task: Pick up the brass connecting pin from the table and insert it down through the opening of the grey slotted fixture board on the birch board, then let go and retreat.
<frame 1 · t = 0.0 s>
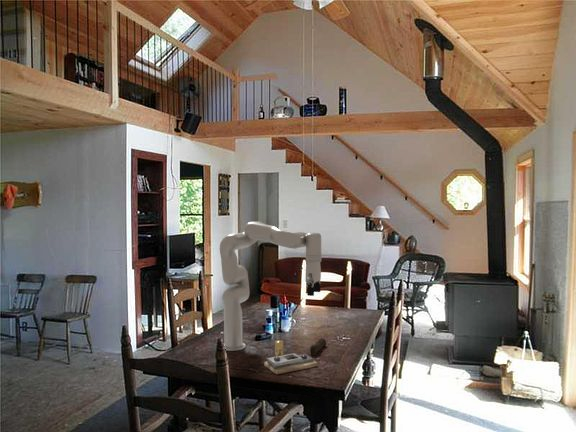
hand: (314, 293, 206), 31 cm above the table, tool pointing down, fingers open, 9 cm apart
birch board: (290, 365, 197), on the table
grey slotted fixture board: (290, 358, 196), on the birch board, point 3 cm above the table
brass pin: (279, 357, 207), on the table
hand tool: (318, 351, 217), on the table
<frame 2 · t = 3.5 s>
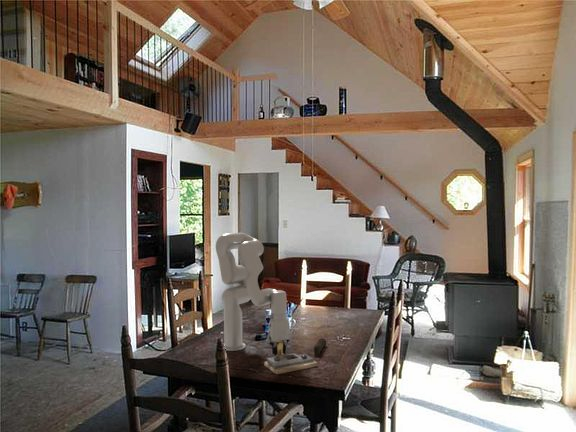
hand: (279, 353, 207), 2 cm above the table, tool pointing down, fingers closed on brass pin, 4 cm apart
brass pin: (279, 357, 207), on the table, touching gripper
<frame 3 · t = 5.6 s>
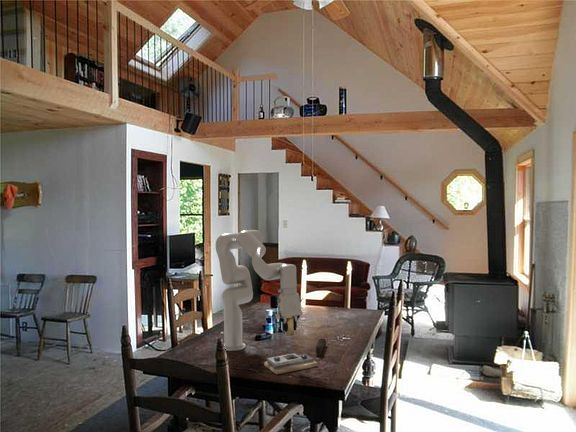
hand: (289, 330, 197), 16 cm above the table, tool pointing down, fingers closed on brass pin, 4 cm apart
brass pin: (289, 334, 197), point 14 cm above the table, touching gripper
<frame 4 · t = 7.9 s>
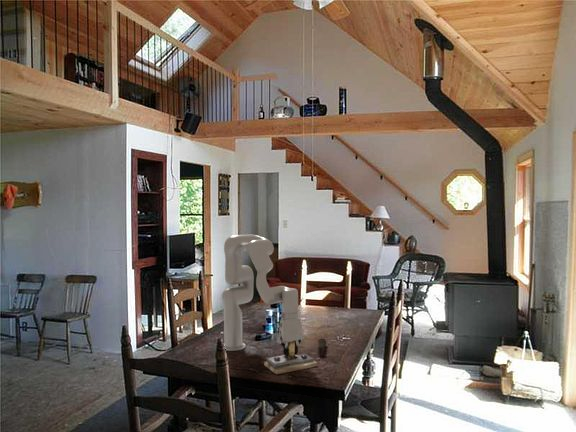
hand: (290, 354, 196), 5 cm above the table, tool pointing down, fingers closed on brass pin, 4 cm apart
brass pin: (290, 359, 196), point 3 cm above the table, touching gripper
when the fingers open (5 cm above the table, at t = 8.2 s): brass pin stays where it is, resting on birch board.
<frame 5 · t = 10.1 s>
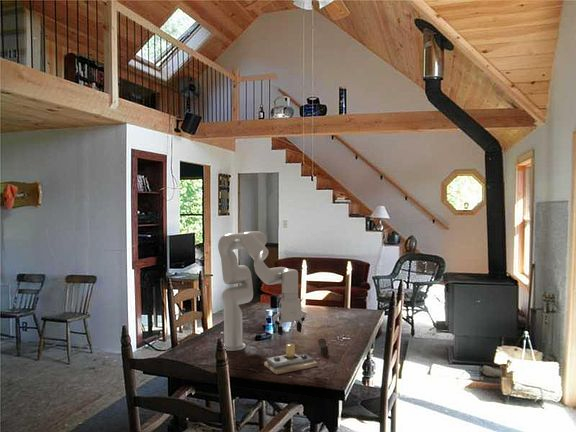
hand: (289, 333, 197), 15 cm above the table, tool pointing down, fingers open, 9 cm apart
brass pin: (290, 362, 197), point 2 cm above the table, touching birch board
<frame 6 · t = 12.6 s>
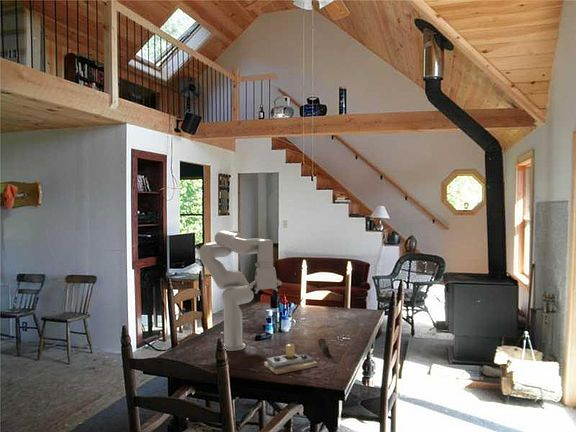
hand: (265, 300, 206), 28 cm above the table, tool pointing down, fingers open, 9 cm apart
at the end: brass pin 0.1 cm from the grey slotted fixture board (horizontally); brass pin point 1.5 cm above the table; brass pin tilted 1° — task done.
